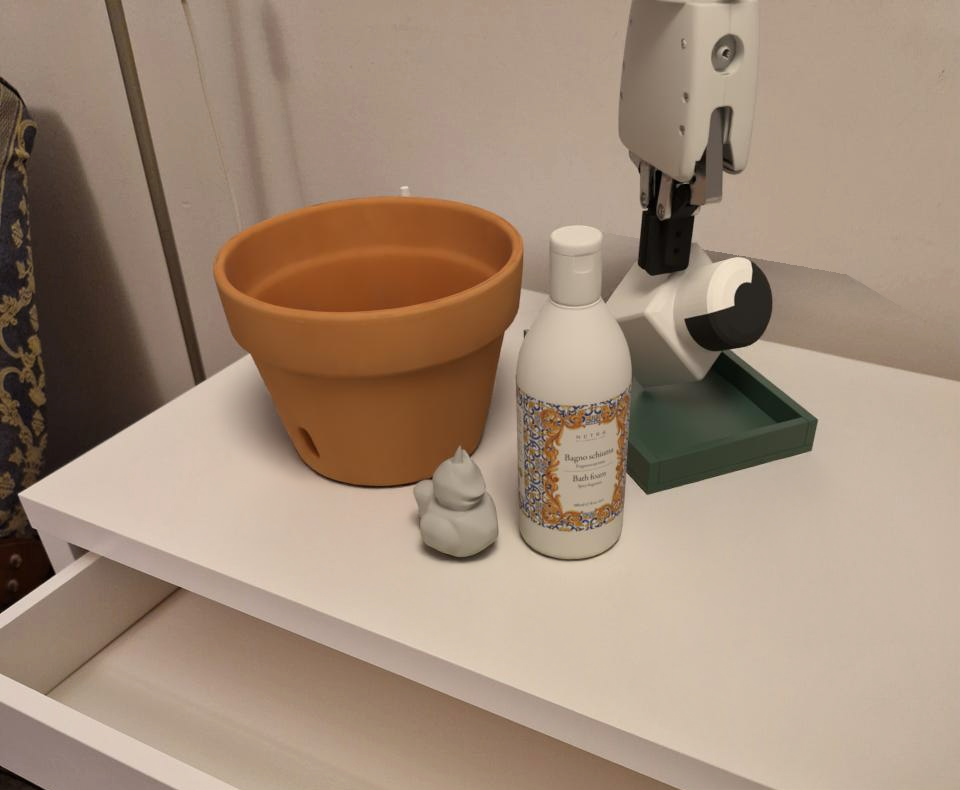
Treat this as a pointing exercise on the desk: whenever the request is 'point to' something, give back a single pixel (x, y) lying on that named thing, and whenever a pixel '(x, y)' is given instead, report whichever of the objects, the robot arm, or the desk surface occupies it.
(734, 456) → the tray
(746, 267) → the medicine bottle
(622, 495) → the bath foam
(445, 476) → the rubber duck
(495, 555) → the desk surface
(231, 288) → the flower pot
